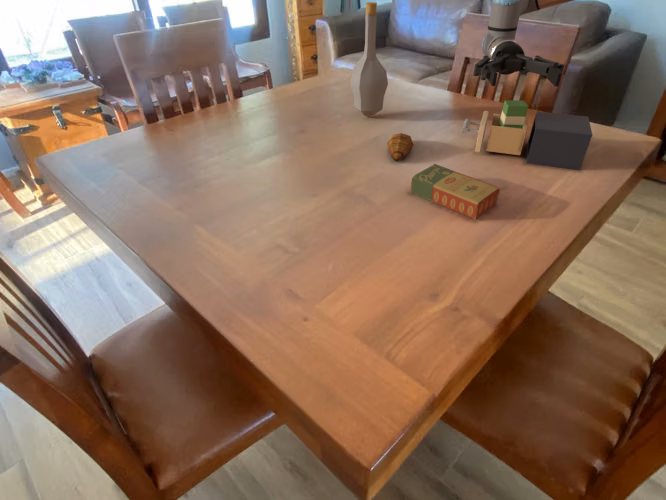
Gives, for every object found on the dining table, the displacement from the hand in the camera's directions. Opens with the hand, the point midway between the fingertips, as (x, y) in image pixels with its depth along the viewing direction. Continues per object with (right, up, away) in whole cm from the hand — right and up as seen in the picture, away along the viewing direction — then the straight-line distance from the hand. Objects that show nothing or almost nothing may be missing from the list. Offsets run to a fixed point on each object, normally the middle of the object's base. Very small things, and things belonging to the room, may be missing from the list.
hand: (526, 80), depth 94 cm
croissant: (-26, -13, +15) cm, 32 cm away
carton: (-18, -27, -4) cm, 33 cm away
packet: (+1, -11, +12) cm, 17 cm away
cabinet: (+11, -15, +10) cm, 21 cm away
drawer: (-3, -11, +14) cm, 18 cm away
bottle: (-32, +2, +34) cm, 47 cm away
